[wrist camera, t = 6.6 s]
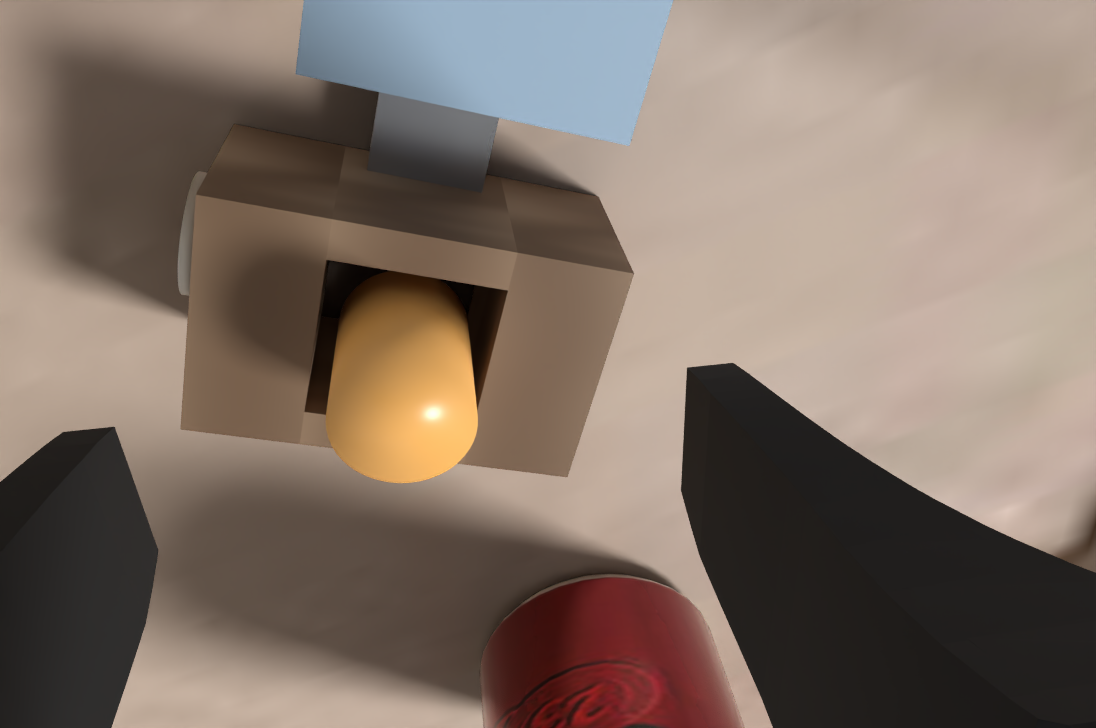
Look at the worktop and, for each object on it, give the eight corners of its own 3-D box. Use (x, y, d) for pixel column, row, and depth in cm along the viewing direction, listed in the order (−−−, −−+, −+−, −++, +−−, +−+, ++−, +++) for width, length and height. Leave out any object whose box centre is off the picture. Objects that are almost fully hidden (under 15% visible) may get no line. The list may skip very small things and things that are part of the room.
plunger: (479, 282, 18) (492, 371, 16) (454, 389, 20) (461, 490, 17) (348, 259, 18) (336, 348, 15) (330, 371, 19) (316, 474, 16)
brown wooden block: (598, 196, 21) (634, 273, 18) (545, 378, 23) (567, 476, 20) (218, 121, 19) (177, 191, 16) (203, 328, 21) (164, 427, 18)
